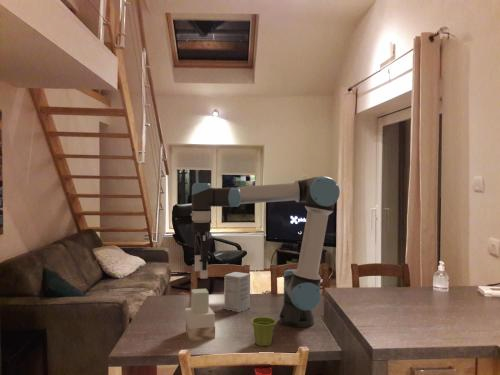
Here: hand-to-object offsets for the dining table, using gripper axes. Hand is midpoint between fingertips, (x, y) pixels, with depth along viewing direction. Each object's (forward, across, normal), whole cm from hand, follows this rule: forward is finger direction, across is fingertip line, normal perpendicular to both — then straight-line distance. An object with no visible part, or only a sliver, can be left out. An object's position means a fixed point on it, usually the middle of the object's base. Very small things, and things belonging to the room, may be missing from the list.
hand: (200, 274), depth 162 cm
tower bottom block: (+25, 0, 0) cm, 25 cm away
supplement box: (+25, -29, +23) cm, 45 cm away
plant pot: (+25, +15, +22) cm, 36 cm away
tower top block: (+20, 0, 0) cm, 20 cm away
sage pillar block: (+15, 0, 0) cm, 15 cm away
